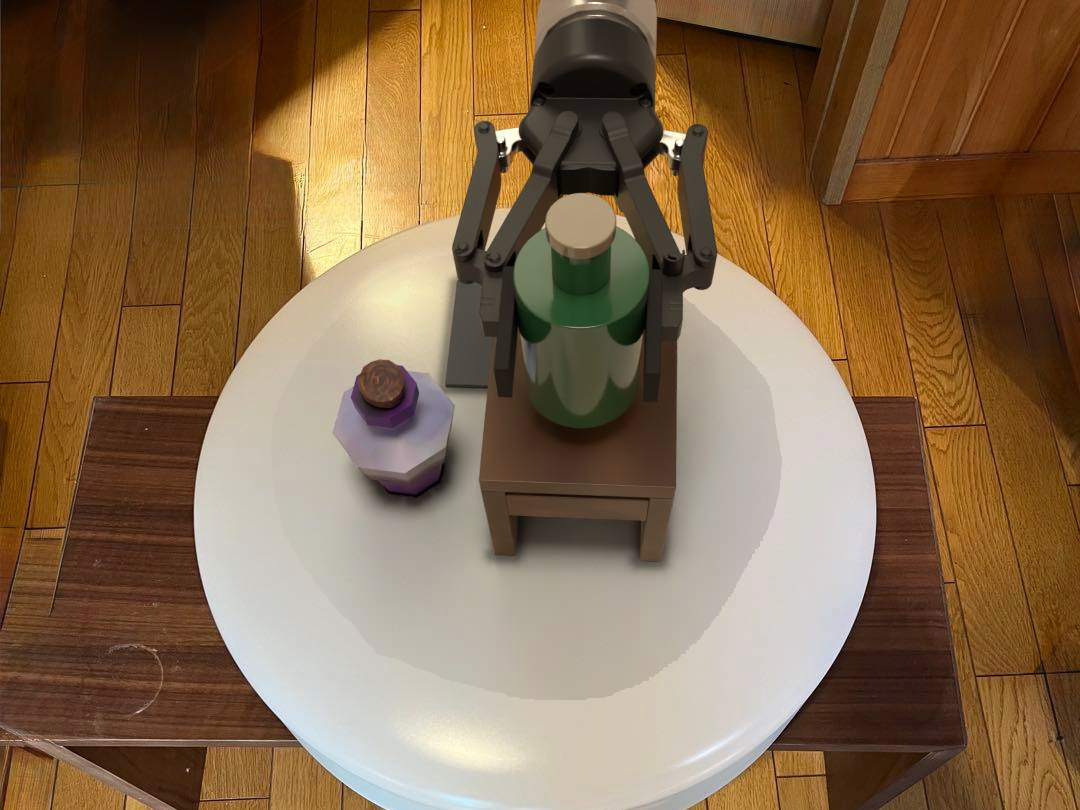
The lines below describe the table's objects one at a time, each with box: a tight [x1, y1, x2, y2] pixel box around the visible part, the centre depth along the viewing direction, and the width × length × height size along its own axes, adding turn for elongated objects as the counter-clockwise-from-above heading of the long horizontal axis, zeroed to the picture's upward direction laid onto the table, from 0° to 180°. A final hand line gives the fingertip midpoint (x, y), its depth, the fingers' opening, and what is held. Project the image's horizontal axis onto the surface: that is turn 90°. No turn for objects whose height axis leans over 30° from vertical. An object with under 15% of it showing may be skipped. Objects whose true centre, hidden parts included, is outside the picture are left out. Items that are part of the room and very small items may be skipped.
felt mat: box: [444, 279, 493, 389], centre depth 77 cm, size 10×10×1 cm
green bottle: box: [513, 193, 650, 428], centre depth 52 cm, size 7×7×14 cm
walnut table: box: [478, 328, 678, 562], centre depth 67 cm, size 12×12×12 cm
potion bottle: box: [332, 358, 456, 499], centre depth 68 cm, size 9×9×12 cm
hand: (577, 385), depth 50 cm, fingers closed on green bottle, 7 cm apart
